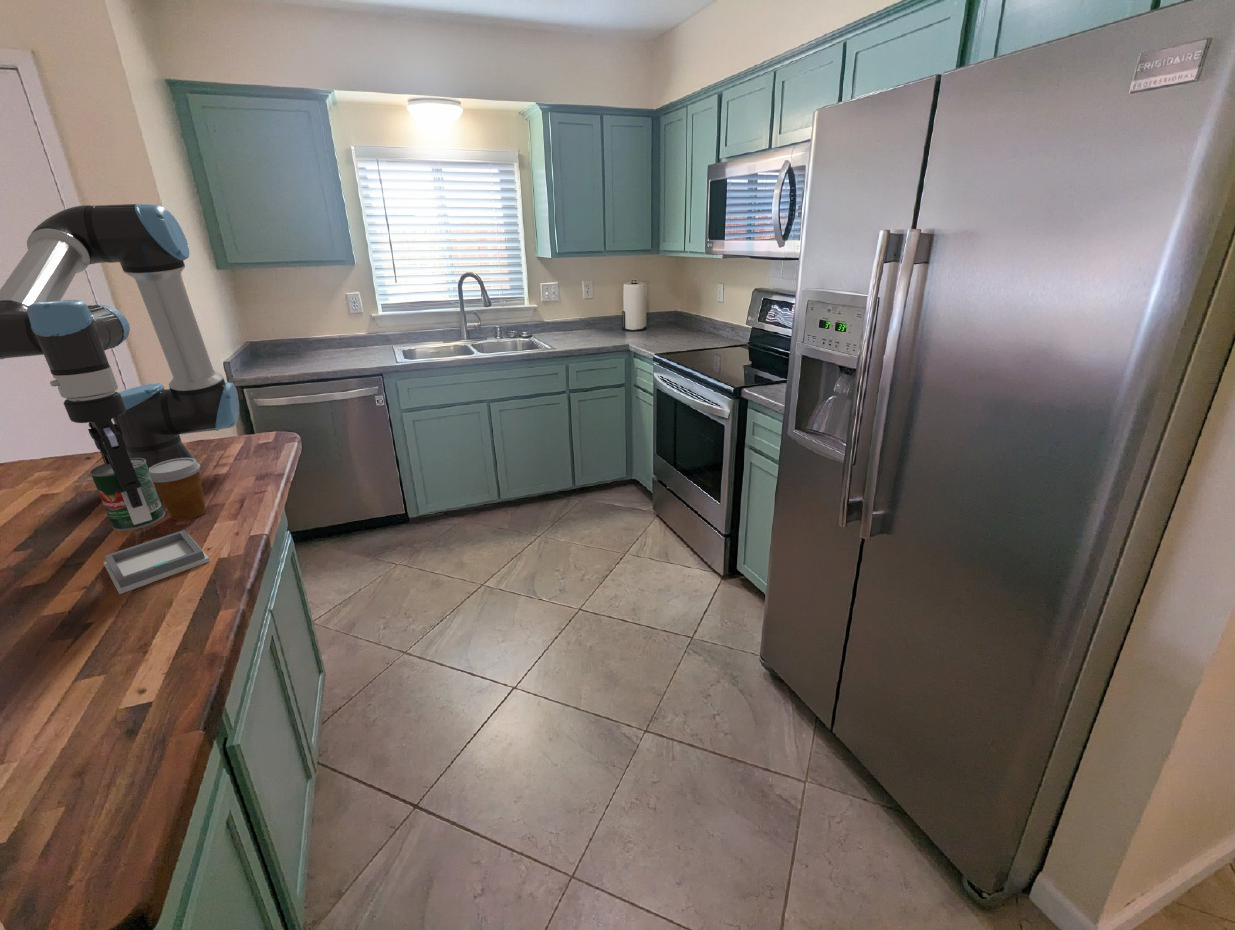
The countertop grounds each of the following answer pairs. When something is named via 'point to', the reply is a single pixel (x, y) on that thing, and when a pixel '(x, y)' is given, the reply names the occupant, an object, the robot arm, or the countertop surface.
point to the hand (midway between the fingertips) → (137, 514)
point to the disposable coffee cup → (179, 487)
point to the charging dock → (153, 561)
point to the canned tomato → (115, 502)
